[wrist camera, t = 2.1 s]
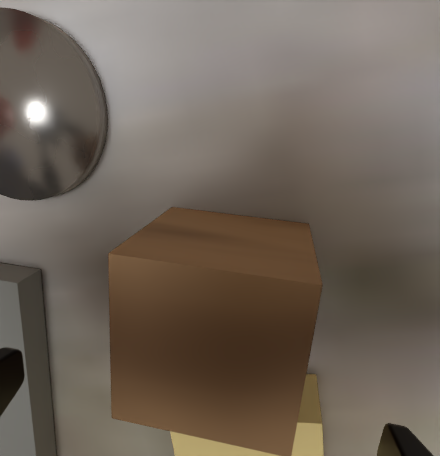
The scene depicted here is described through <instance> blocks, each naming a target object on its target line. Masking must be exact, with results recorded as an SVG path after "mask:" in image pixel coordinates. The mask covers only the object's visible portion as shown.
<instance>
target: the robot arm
mask: <svg viewBox="0 0 440 456" xmlns="http://www.w3.org/2000/svg"><path fill="white" fill-rule="evenodd" d="M24 377H25V373H24V364H23V355H22V352H21V351H20V350H19V349H14V348H9V347H4V348H1V349H0V417H1V415H2V414H3V412H4V411H5V409H6V408H7V406H8V405H9V404H10V402H11V401H12V399H13V398H14V396H15V395H16V393H17V392H18V390H19V389H20V387H21V386H22V384H23V381H24ZM377 456H433V455H432V453H431V452H430V451H429V450H428V449H427V448H426V447H425V446H424V445H423V444H422V443H421V442H420V441H419V440H418V438H417V437H416V436H415V435H414V434H413V433H412V432H411V431H410V430H409V429H408V428H407V427H405V426H401V425H396V424H391V423H388V424H386V425H385V427H384V429H383V433H382V436H381V440H380V444H379V447H378V451H377Z"/></svg>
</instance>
